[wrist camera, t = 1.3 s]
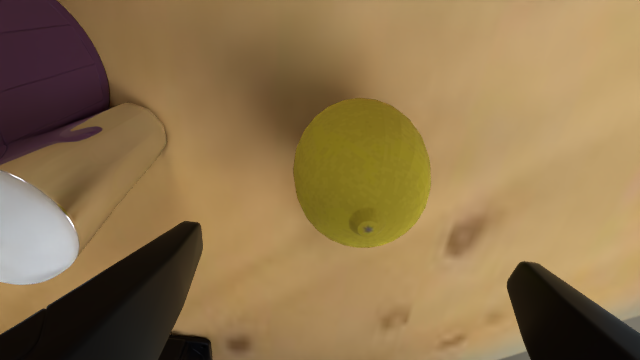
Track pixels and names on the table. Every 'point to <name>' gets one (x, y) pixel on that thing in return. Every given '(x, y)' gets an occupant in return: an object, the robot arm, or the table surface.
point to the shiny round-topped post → (69, 187)
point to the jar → (45, 70)
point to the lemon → (362, 173)
